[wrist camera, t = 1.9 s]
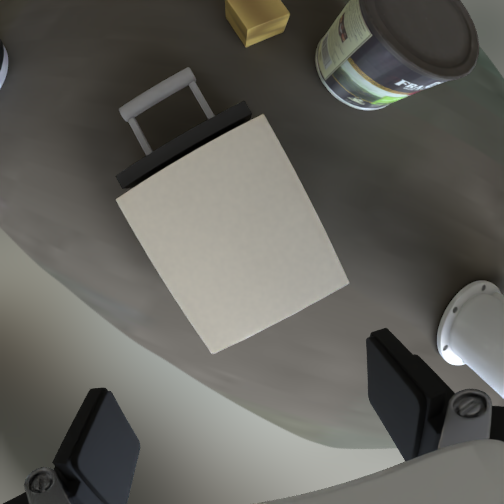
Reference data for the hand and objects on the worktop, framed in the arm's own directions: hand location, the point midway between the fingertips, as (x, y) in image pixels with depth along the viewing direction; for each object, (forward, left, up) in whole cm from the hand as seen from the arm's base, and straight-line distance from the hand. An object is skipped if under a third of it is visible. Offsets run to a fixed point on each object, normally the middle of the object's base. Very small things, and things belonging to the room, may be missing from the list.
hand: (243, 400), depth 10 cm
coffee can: (-21, -11, -23) cm, 33 cm away
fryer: (-1, -2, -23) cm, 23 cm away
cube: (-13, -20, -23) cm, 33 cm away
